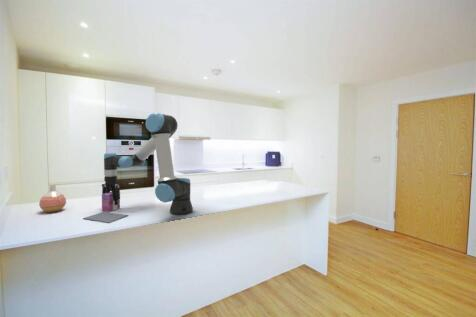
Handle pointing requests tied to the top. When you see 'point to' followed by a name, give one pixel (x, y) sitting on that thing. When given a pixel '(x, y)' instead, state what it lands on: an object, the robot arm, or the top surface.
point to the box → (108, 202)
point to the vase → (52, 200)
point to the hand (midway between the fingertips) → (111, 209)
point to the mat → (105, 217)
